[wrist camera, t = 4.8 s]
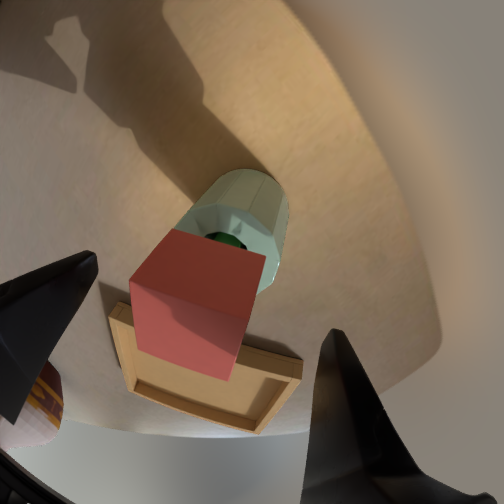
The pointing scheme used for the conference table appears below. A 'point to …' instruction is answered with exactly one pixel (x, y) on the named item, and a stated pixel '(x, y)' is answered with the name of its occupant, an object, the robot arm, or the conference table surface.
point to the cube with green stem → (195, 301)
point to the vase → (243, 215)
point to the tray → (208, 381)
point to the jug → (36, 413)
